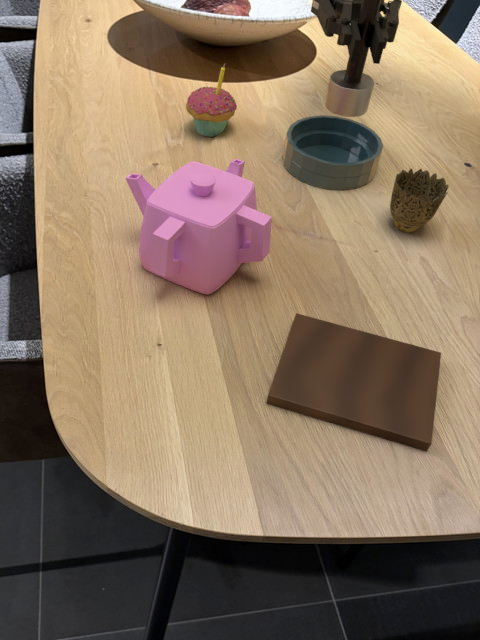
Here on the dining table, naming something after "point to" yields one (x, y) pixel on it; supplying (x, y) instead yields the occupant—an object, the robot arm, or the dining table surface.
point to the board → (358, 381)
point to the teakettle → (200, 225)
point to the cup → (416, 199)
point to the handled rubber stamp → (354, 71)
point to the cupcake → (211, 108)
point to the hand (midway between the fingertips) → (367, 51)
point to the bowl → (331, 152)
